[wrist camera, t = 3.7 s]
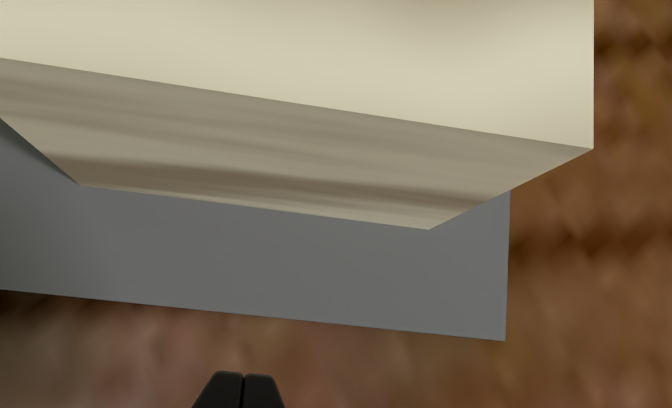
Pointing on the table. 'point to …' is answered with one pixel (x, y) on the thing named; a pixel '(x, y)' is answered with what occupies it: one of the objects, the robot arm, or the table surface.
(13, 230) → the rubber mat
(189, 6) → the birch block
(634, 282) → the table surface
